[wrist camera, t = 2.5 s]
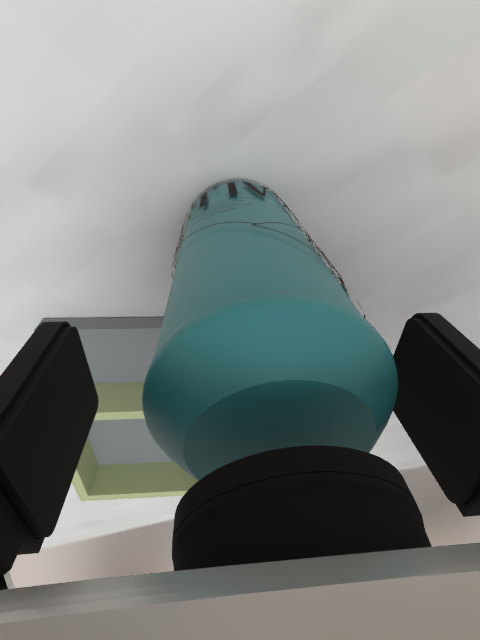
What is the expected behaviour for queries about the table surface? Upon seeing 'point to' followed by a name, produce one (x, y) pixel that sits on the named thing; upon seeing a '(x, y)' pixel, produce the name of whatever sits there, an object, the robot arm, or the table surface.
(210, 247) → the beverage bottle
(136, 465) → the deck plate
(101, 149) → the table surface
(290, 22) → the table surface
